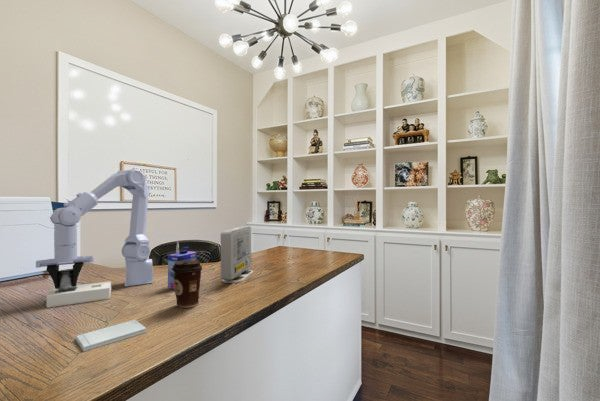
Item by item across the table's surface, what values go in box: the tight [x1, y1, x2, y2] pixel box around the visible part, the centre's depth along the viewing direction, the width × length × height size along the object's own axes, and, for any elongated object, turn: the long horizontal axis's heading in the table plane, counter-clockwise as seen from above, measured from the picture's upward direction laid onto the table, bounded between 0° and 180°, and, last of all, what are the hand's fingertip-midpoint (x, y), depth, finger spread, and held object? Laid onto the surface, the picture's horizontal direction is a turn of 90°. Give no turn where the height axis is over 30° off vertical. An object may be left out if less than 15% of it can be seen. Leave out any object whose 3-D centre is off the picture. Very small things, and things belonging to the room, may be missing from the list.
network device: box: [220, 225, 254, 284], centre depth 124 cm, size 26×9×20 cm, turn 172°
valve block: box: [46, 280, 112, 309], centre depth 98 cm, size 16×10×4 cm, turn 120°
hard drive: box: [75, 319, 147, 352], centre depth 70 cm, size 2×8×12 cm
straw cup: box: [167, 246, 198, 290], centre depth 112 cm, size 10×6×14 cm, turn 158°
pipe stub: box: [58, 268, 74, 293], centre depth 96 cm, size 4×4×8 cm
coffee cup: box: [172, 260, 203, 309], centre depth 91 cm, size 9×8×13 cm
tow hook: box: [175, 240, 180, 253], centre depth 148 cm, size 8×13×9 cm
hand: (66, 287), depth 96 cm, fingers closed on pipe stub, 4 cm apart
